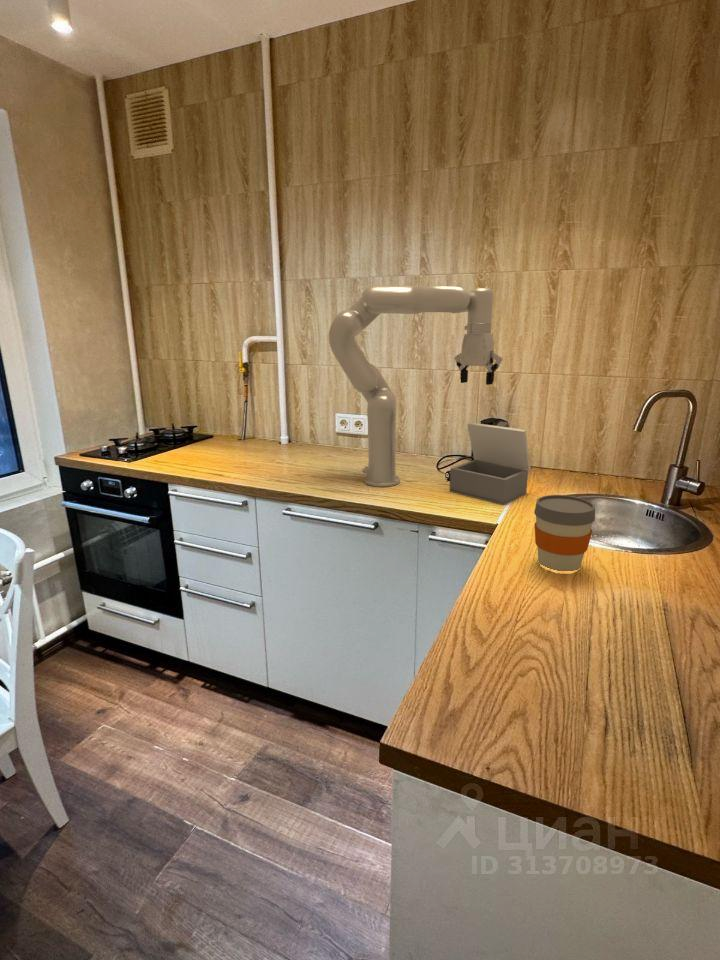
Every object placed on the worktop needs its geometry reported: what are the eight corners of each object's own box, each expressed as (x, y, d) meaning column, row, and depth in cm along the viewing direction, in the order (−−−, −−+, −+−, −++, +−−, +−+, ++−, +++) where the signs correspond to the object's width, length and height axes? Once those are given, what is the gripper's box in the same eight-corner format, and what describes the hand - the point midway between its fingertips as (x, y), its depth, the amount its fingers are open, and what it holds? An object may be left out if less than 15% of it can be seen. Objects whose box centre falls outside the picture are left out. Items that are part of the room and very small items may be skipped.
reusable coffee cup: (583, 583, 109) (591, 517, 104) (523, 569, 115) (528, 507, 111) (592, 561, 119) (600, 499, 114) (537, 549, 125) (542, 491, 121)
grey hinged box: (449, 491, 170) (450, 468, 167) (473, 482, 179) (474, 460, 177) (503, 505, 156) (505, 480, 154) (526, 494, 166) (528, 470, 163)
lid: (467, 423, 170) (476, 414, 173) (474, 459, 177) (483, 450, 180) (524, 431, 156) (533, 421, 159) (529, 470, 163) (537, 460, 166)
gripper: (449, 329, 167) (448, 382, 172) (497, 329, 155) (493, 386, 160) (462, 329, 172) (460, 380, 177) (509, 329, 160) (505, 384, 165)
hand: (476, 383), depth 169 cm, fingers open, 9 cm apart
